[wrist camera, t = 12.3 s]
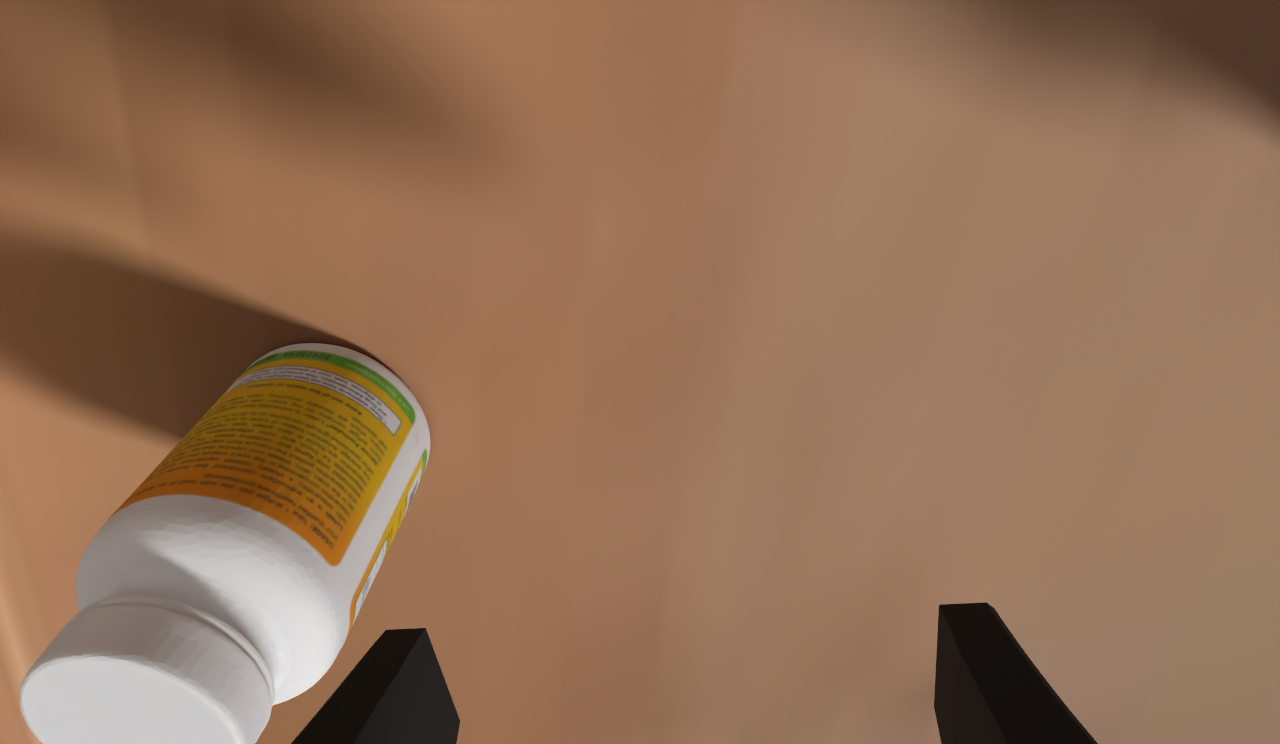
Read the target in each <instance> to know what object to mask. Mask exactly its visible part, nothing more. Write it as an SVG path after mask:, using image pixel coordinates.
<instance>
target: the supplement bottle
mask: <svg viewBox="0 0 1280 744" xmlns="http://www.w3.org/2000/svg"><path fill="white" fill-rule="evenodd" d="M429 453H430V433H429V428H428V424H427V420H426V418H425V415H424V412H423V410H422V408H421V407H420V405H419V403H418V401H417V400H416V398H415V397H414V395H413V394H412V393H411V391H410V390H409V389H408V388H407V386H406V385H405V384H404V383H403V382H402V381H401V380H400V379H399V378H398V377H397V376H395V375H394V374H393V373H392V372H391V371H390V370H388V369H387V368H385V367H384V366H383V365H381V364H380V363H378V362H377V361H375V360H373V359H371V358H369V357H368V356H366V355H364V354H361V353H359V352H356V351H354V350H351V349H348V348H345V347H341V346H336V345H330V344H321V343H302V344H294V345H288V346H285V347H281V348H278V349H276V350H273V351H271V352H269V353H267V354H266V355H264V356H262V357H261V358H259V359H257V360H256V361H255V362H254V363H252V364H251V365H250V366H249V367H248V368H247V369H246V370H245V371H244V372H243V373H242V374H241V375H240V376H239V377H238V378H237V379H236V380H235V381H234V382H233V383H232V385H231V386H230V387H229V388H228V389H227V390H226V391H225V393H224V394H223V395H222V396H221V397H220V398H219V399H218V400H217V401H216V403H215V404H214V405H213V406H212V407H211V408H210V409H209V410H208V411H207V412H206V414H205V415H204V416H203V417H202V418H201V419H200V420H199V421H198V422H197V423H196V424H195V426H194V427H193V428H192V429H191V430H190V431H189V432H188V433H187V434H186V435H185V437H184V438H183V439H182V440H181V441H180V442H179V443H178V444H177V445H176V446H175V448H174V449H173V450H172V451H171V452H170V453H169V454H168V455H167V456H166V457H165V458H164V460H163V461H162V462H161V463H160V464H159V465H158V466H157V467H156V468H155V469H154V471H153V472H152V473H151V474H150V475H149V476H148V477H147V478H146V479H145V481H144V482H143V483H142V484H141V485H140V486H139V487H138V488H137V489H136V490H135V491H134V492H133V493H132V494H131V496H130V497H129V498H128V499H127V500H126V501H125V502H124V503H123V504H122V505H121V506H120V507H119V508H118V509H117V510H116V511H115V513H114V514H113V515H112V516H111V517H110V518H109V519H108V520H107V522H106V523H105V524H104V525H103V527H102V528H101V529H100V530H99V531H98V532H97V534H96V535H95V536H94V538H93V539H92V541H91V542H90V544H89V545H88V546H87V548H86V550H85V552H84V554H83V556H82V559H81V561H80V564H79V567H78V571H77V577H76V586H75V589H76V599H77V605H78V610H79V613H77V614H76V615H75V617H74V618H73V619H72V620H71V621H70V622H68V623H67V624H66V625H65V626H64V627H63V629H62V630H61V631H60V632H59V633H58V635H57V636H56V637H55V638H54V639H53V641H52V642H51V643H50V644H49V645H48V647H47V648H46V649H45V651H44V652H43V653H42V654H41V656H40V657H39V658H38V659H37V661H36V662H35V663H34V665H33V666H32V667H31V668H30V670H29V671H28V672H27V674H26V676H25V678H24V679H23V682H22V685H21V688H20V694H19V700H20V706H21V711H22V714H23V717H24V719H25V721H26V723H27V725H28V726H29V728H30V730H31V731H32V733H33V734H34V735H35V736H36V737H37V739H38V740H39V741H40V742H41V743H42V744H255V743H256V742H257V740H258V738H259V736H260V734H261V733H262V731H263V730H264V728H265V727H266V725H267V723H268V720H269V718H270V715H271V709H272V706H273V705H275V704H278V703H281V702H284V701H287V700H289V699H291V698H293V697H296V696H298V695H299V694H301V693H303V692H305V691H306V690H308V689H309V688H310V687H312V686H313V685H314V684H315V683H316V682H317V681H318V680H319V679H321V678H322V676H323V675H324V674H325V673H326V672H327V671H328V669H329V668H330V667H331V665H332V664H333V662H334V660H335V659H336V657H337V655H338V653H339V651H340V649H341V647H342V646H343V644H344V642H345V640H346V638H347V636H348V634H349V632H350V630H351V627H352V625H353V623H354V621H355V619H356V617H357V615H358V613H359V611H360V608H361V606H362V604H363V602H364V600H365V598H366V595H367V593H368V591H369V589H370V587H371V585H372V583H373V580H374V578H375V576H376V574H377V572H378V570H379V568H380V566H381V564H382V561H383V559H384V557H385V555H386V553H387V551H388V549H389V547H390V545H391V543H392V541H393V538H394V536H395V534H396V532H397V530H398V528H399V526H400V524H401V522H402V519H403V518H404V516H405V513H406V511H407V509H408V507H409V505H410V503H411V501H412V498H413V496H414V494H415V492H416V490H417V488H418V486H419V483H420V481H421V479H422V476H423V473H424V471H425V468H426V465H427V462H428V458H429Z"/></svg>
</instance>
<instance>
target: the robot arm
mask: <svg viewBox="0 0 1280 744" xmlns="http://www.w3.org/2000/svg"><path fill="white" fill-rule="evenodd" d="M934 708H935V713H936V718H937V723H938V728H939V733H940V738H941V743H942V744H1098V743H1097V742H1096V741H1095V740H1094V739H1093V737H1092V736H1091V735H1090V734H1089V733H1088V731H1087V730H1086V729H1085V728H1084V727H1083V725H1082V724H1081V723H1080V722H1079V721H1078V720H1077V718H1076V717H1075V716H1074V715H1073V714H1072V712H1071V711H1070V710H1069V709H1068V707H1067V706H1066V705H1065V704H1064V702H1063V701H1062V700H1061V699H1060V697H1059V696H1058V695H1057V694H1056V692H1055V691H1054V690H1053V689H1052V687H1051V686H1050V685H1049V683H1048V682H1047V681H1046V679H1045V678H1044V677H1043V676H1042V674H1041V673H1040V672H1039V670H1038V669H1037V668H1036V666H1035V665H1034V664H1033V662H1032V661H1031V660H1030V658H1029V657H1028V656H1027V654H1026V653H1025V652H1024V650H1023V649H1022V648H1021V646H1020V645H1019V643H1018V642H1017V641H1016V639H1015V638H1014V636H1013V635H1012V634H1011V632H1010V631H1009V629H1008V628H1007V626H1006V625H1005V624H1004V622H1003V621H1002V619H1001V618H1000V616H999V615H998V613H997V612H996V610H995V609H994V608H993V607H992V606H990V605H989V604H988V603H967V604H945V605H939V619H938V639H937V659H936V679H935V699H934ZM459 724H460V720H459V717H458V714H457V711H456V709H455V706H454V703H453V701H452V698H451V695H450V693H449V690H448V687H447V685H446V682H445V679H444V676H443V674H442V671H441V668H440V666H439V663H438V660H437V658H436V655H435V652H434V650H433V647H432V644H431V641H430V639H429V636H428V633H427V631H426V628H419V629H397V630H386V631H385V632H384V633H383V634H382V635H381V636H380V637H379V639H378V640H377V641H376V642H375V643H374V645H373V646H372V647H371V648H370V649H369V650H368V652H367V653H366V654H365V655H364V656H363V658H362V659H361V660H360V661H359V663H358V664H357V665H356V666H355V667H354V669H353V670H352V671H351V672H350V674H349V675H348V676H347V677H346V678H345V680H344V681H343V682H342V683H341V685H340V686H339V687H338V688H337V689H336V691H335V692H334V693H333V694H332V695H331V697H330V698H329V699H328V700H327V702H326V703H325V704H324V705H323V706H322V708H321V709H320V710H319V711H318V712H317V714H316V715H315V716H314V717H313V718H312V720H311V721H310V722H309V723H308V724H307V725H306V727H305V728H304V729H303V730H302V731H301V732H300V734H299V735H298V736H297V737H296V738H295V739H294V741H293V742H292V743H291V744H456V742H457V736H458V730H459Z"/></svg>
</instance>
